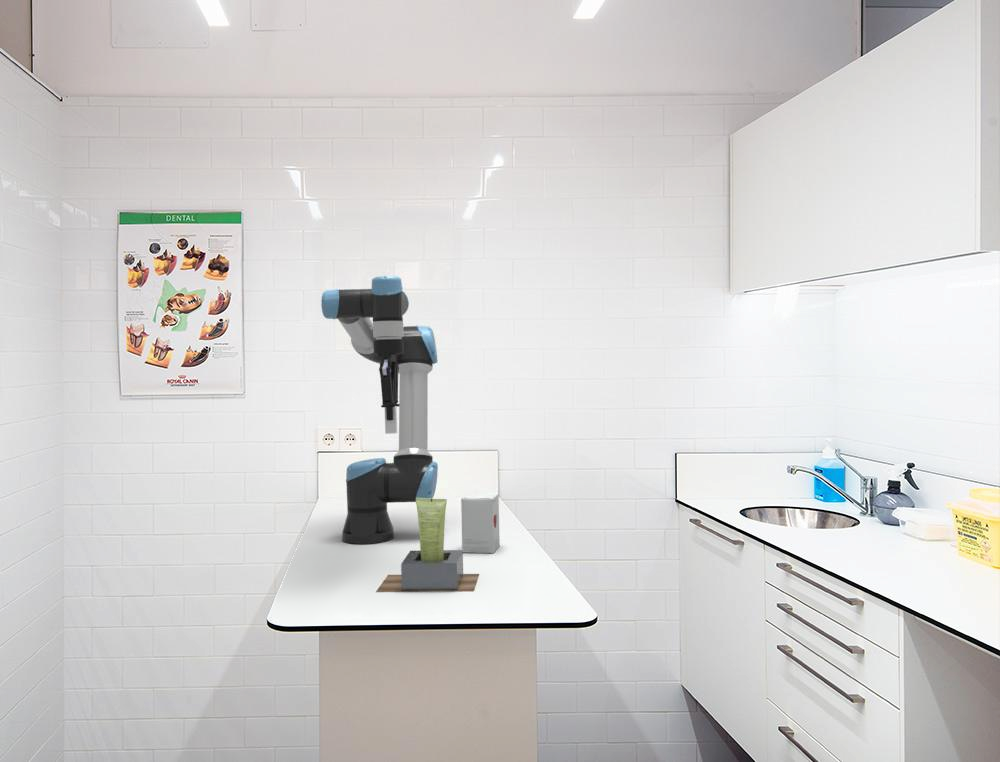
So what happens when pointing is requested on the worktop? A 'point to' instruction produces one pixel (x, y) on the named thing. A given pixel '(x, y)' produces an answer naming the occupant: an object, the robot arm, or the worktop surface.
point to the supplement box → (480, 522)
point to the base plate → (395, 585)
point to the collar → (432, 571)
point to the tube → (431, 527)
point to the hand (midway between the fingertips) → (391, 433)
